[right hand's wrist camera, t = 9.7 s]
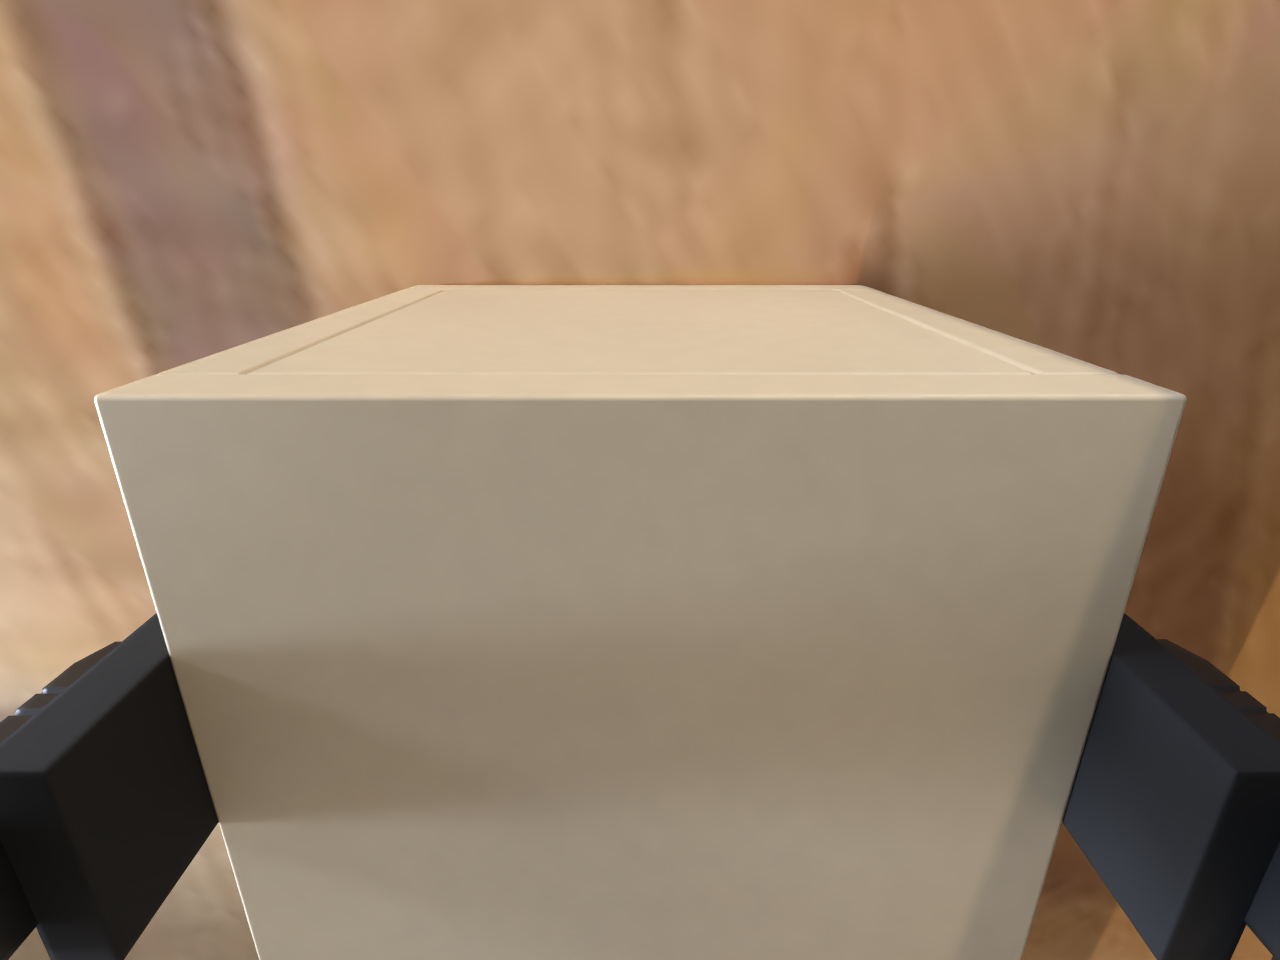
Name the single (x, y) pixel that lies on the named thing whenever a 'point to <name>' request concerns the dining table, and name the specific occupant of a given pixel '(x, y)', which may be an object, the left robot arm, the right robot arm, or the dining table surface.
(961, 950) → the cabinet
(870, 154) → the dining table surface
